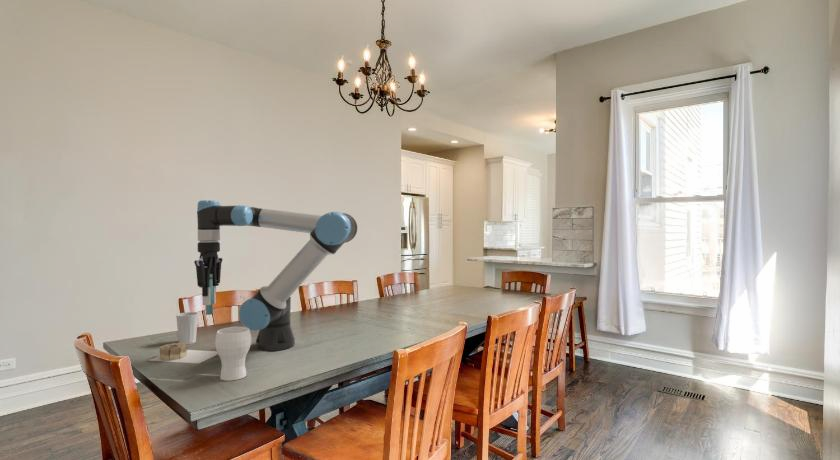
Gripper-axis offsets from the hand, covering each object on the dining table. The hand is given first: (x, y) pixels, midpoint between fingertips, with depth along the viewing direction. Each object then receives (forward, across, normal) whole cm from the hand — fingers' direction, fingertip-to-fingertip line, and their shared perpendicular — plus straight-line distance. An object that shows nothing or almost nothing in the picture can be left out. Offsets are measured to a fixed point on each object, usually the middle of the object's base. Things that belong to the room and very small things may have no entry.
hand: (209, 303), depth 160 cm
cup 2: (+19, +20, +23) cm, 36 cm away
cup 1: (+19, -13, -19) cm, 30 cm away
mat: (+19, +4, -6) cm, 20 cm away
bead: (+19, +6, -10) cm, 22 cm away
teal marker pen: (+4, 0, 0) cm, 4 cm away
